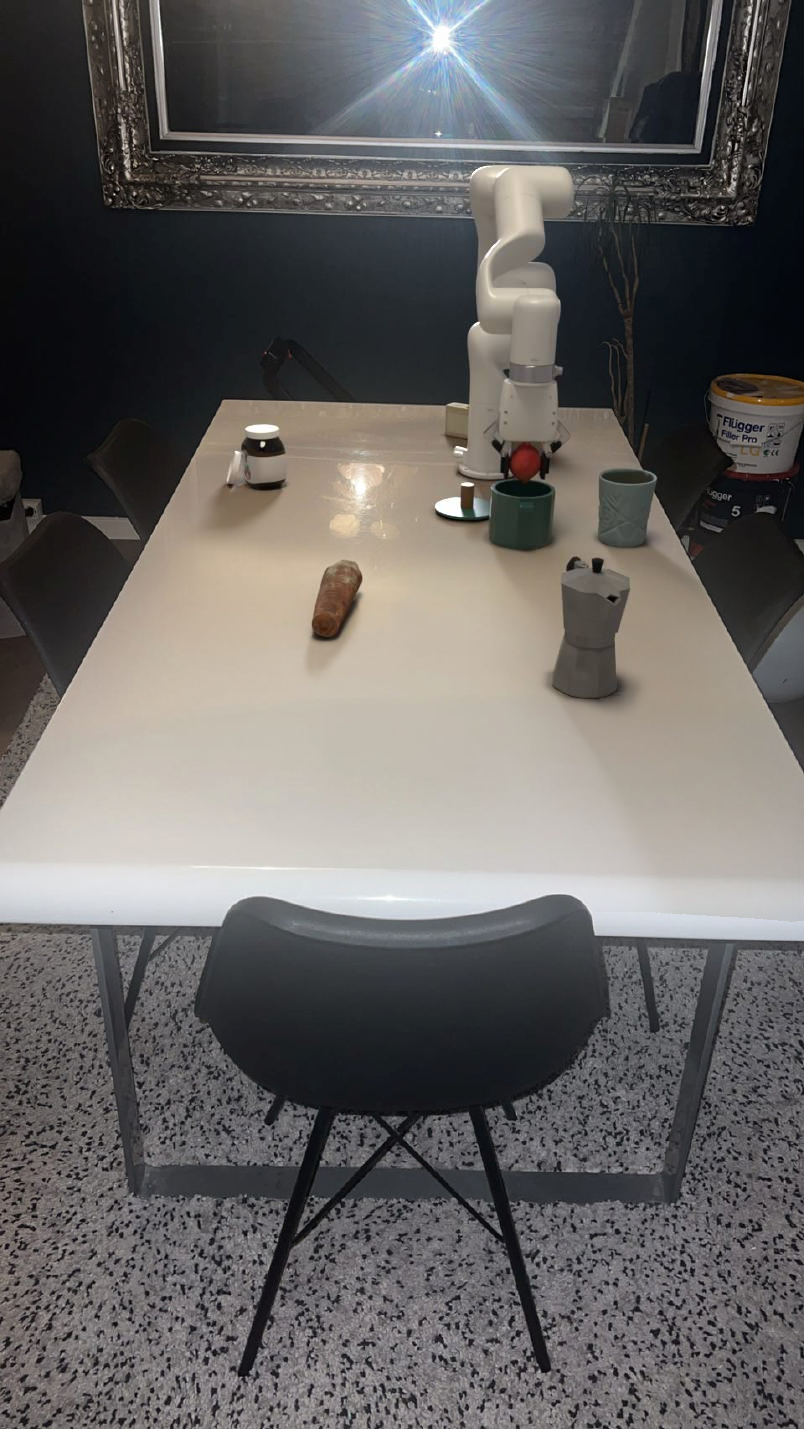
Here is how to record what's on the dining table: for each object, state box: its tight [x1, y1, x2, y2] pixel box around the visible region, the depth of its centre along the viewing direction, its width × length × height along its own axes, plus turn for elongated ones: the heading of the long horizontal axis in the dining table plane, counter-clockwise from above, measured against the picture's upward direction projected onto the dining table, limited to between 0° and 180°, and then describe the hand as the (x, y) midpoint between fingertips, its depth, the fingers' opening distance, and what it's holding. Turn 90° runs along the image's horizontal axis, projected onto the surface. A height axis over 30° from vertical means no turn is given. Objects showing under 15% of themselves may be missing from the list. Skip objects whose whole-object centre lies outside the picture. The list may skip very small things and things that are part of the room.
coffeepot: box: [551, 556, 631, 699], centre depth 137 cm, size 15×9×18 cm, turn 13°
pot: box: [487, 477, 557, 551], centre depth 188 cm, size 11×17×10 cm
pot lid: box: [434, 482, 490, 521], centre depth 202 cm, size 12×12×6 cm
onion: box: [509, 442, 542, 483], centre depth 184 cm, size 6×6×8 cm
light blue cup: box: [597, 467, 658, 548], centre depth 188 cm, size 10×10×12 cm
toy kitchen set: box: [444, 402, 469, 440], centre depth 254 cm, size 18×17×15 cm
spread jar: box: [226, 424, 288, 490], centre depth 215 cm, size 12×11×12 cm
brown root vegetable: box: [311, 559, 363, 638], centre depth 158 cm, size 6×19×6 cm, turn 172°
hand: (523, 476), depth 185 cm, fingers closed on onion, 5 cm apart
